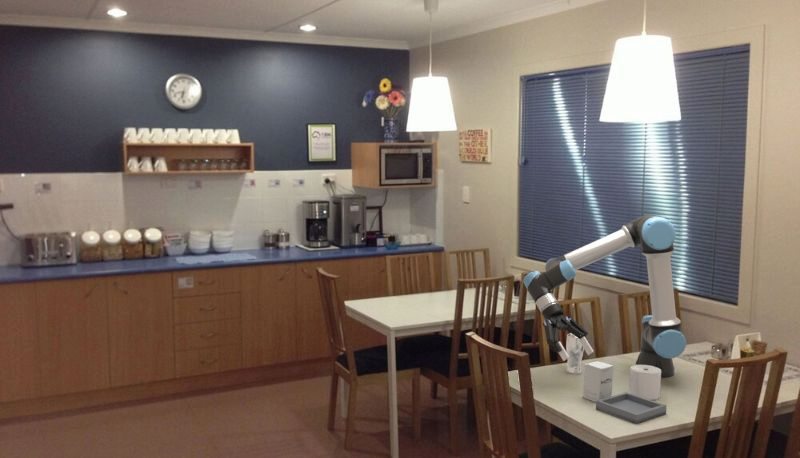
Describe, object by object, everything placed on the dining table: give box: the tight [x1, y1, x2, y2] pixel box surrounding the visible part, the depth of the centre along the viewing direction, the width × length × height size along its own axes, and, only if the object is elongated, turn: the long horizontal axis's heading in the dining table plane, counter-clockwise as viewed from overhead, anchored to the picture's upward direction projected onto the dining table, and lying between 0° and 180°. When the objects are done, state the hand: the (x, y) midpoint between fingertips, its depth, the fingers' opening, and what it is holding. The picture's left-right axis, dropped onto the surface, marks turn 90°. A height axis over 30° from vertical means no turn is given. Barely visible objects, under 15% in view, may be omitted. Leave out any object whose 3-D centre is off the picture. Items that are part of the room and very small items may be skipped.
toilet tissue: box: [628, 364, 662, 401], centre depth 265 cm, size 11×12×10 cm
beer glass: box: [565, 333, 585, 375], centre depth 293 cm, size 7×7×15 cm
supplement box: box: [582, 360, 614, 403], centre depth 261 cm, size 7×7×13 cm
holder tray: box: [595, 391, 667, 425], centre depth 249 cm, size 16×16×3 cm
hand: (578, 356), depth 267 cm, fingers open, 13 cm apart
